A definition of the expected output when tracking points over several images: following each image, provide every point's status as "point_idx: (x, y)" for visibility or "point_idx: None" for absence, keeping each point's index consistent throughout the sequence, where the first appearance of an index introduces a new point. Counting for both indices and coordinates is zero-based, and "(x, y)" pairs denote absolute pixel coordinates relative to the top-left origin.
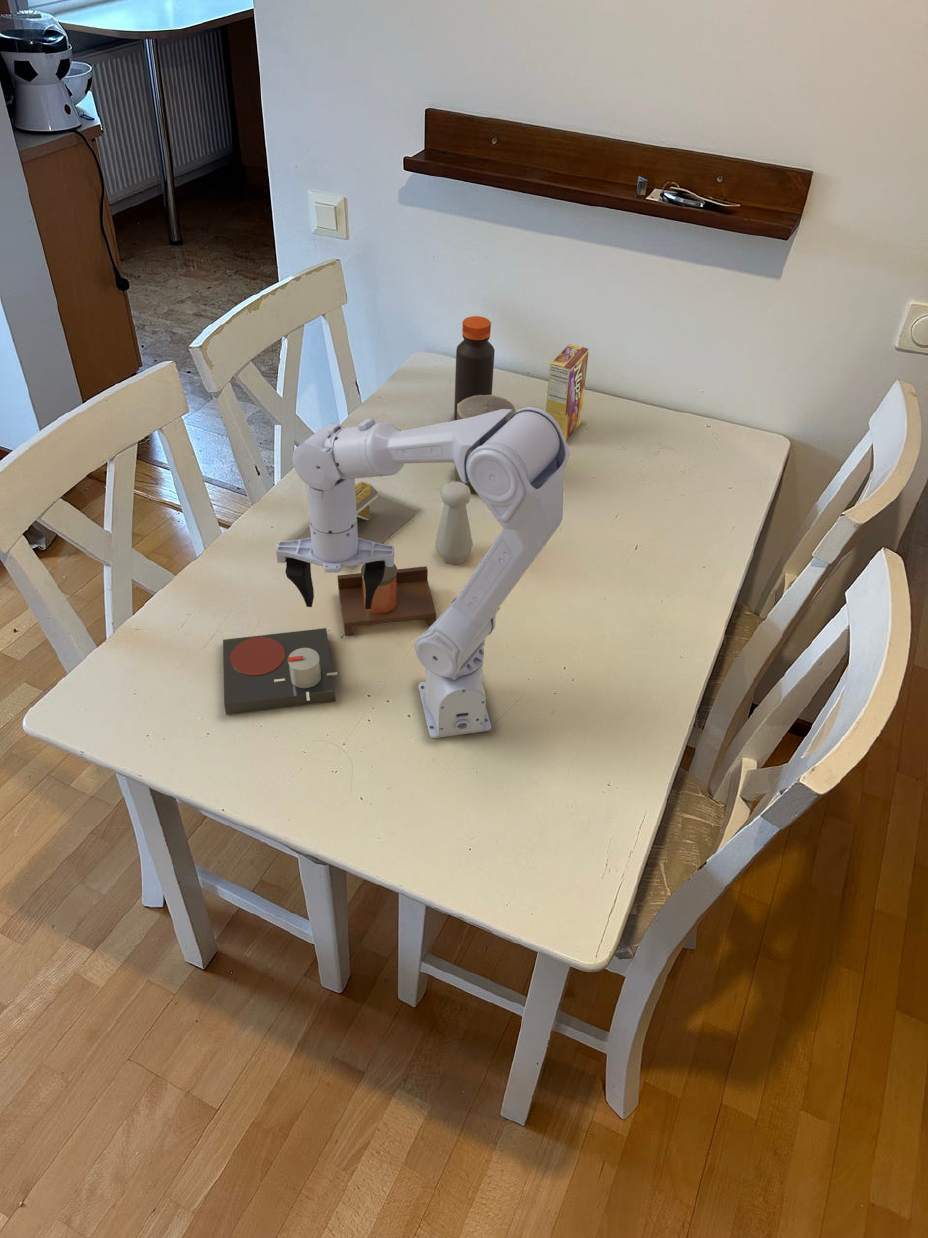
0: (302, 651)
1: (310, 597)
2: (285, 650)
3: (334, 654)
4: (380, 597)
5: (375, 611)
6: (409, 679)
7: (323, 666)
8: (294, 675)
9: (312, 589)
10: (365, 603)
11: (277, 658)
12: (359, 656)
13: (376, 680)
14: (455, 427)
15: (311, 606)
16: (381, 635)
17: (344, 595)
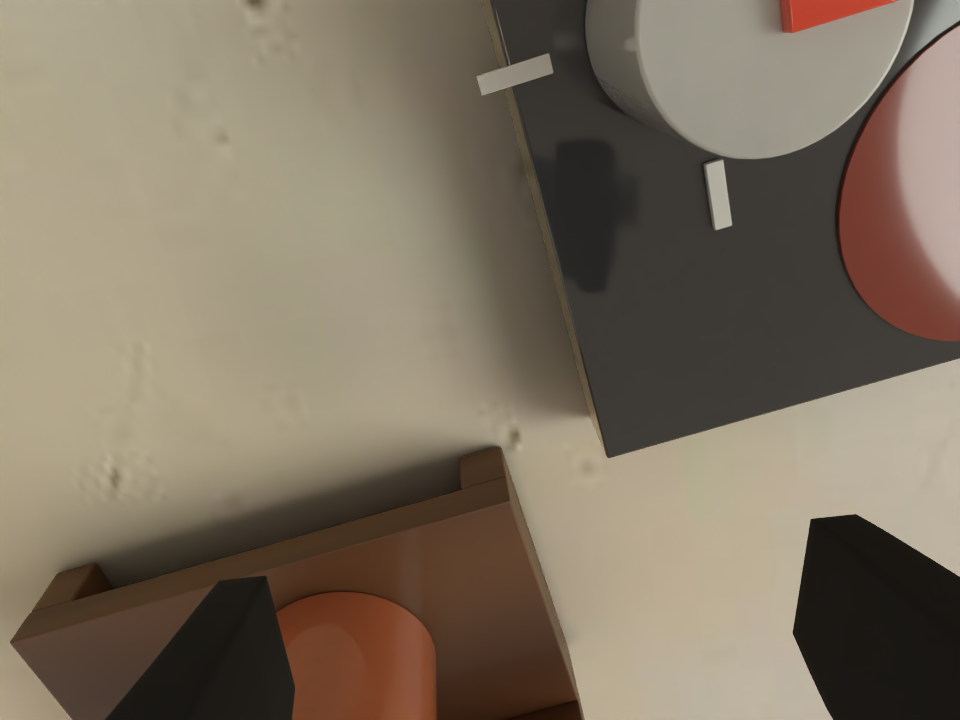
0: (789, 106)
1: (890, 616)
2: (834, 254)
3: (534, 315)
4: (298, 697)
5: (347, 600)
6: (47, 179)
7: (582, 144)
8: None
9: (855, 715)
10: (229, 634)
11: (887, 174)
12: (394, 319)
13: (246, 144)
14: None
15: (821, 523)
16: (314, 475)
17: (542, 671)
